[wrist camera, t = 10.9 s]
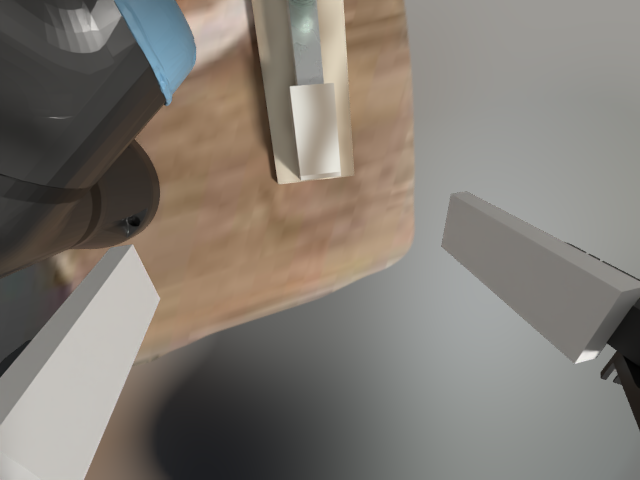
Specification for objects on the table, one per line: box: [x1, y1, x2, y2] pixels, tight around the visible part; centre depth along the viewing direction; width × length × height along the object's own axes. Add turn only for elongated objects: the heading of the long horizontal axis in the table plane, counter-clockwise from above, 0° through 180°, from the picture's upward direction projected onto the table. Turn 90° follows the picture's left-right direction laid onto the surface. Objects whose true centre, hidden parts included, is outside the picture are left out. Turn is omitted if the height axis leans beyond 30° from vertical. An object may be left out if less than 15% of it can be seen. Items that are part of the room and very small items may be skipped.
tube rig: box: [251, 0, 354, 184], centre depth 29 cm, size 10×30×6 cm, turn 5°
